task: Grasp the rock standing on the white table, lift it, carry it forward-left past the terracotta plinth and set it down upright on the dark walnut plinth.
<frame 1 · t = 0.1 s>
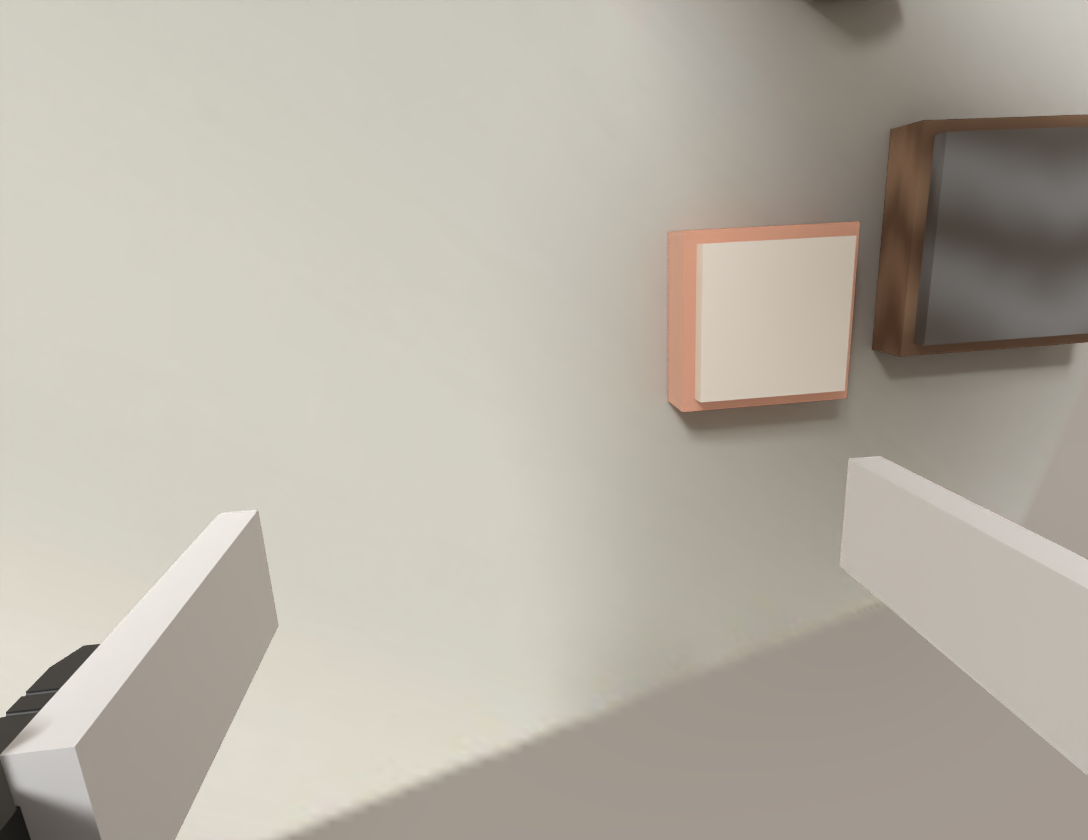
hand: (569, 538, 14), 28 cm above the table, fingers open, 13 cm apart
walnut plinth: (978, 238, 43), on the table
terracotta plinth: (748, 313, 42), on the table
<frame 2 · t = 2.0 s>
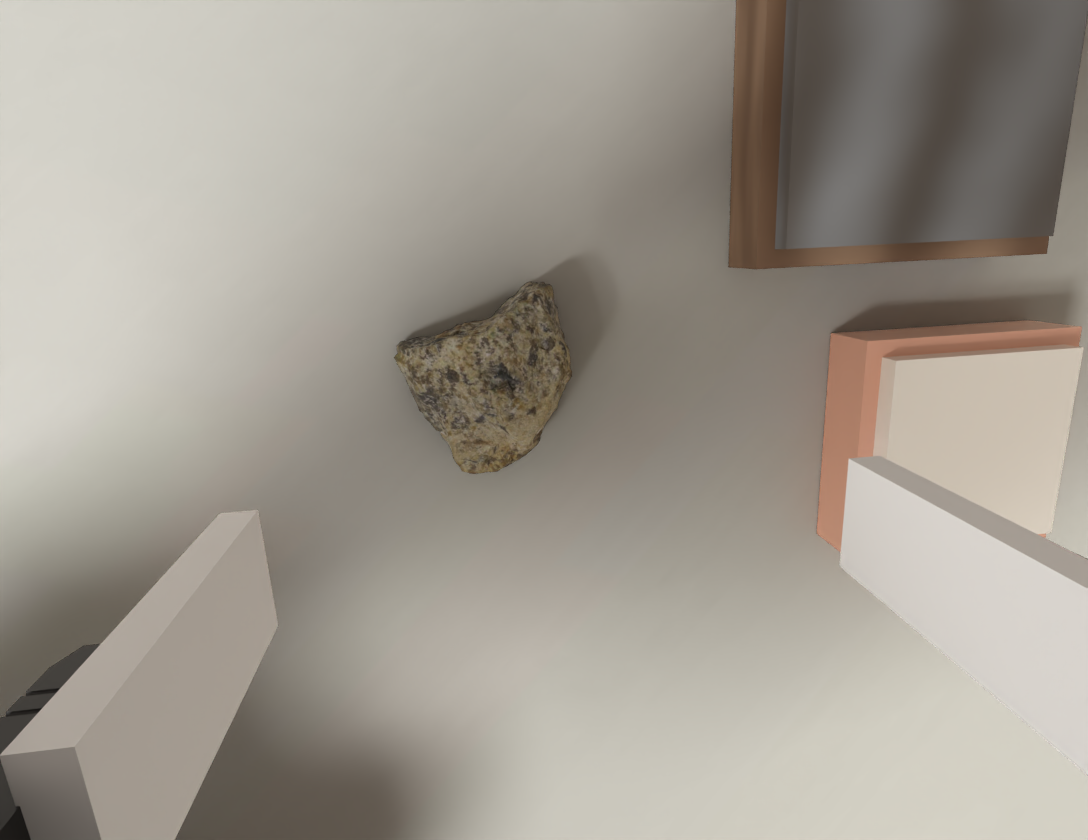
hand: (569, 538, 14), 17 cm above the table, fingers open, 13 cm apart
rock: (480, 368, 31), on the table
walnut plinth: (877, 104, 30), on the table
terracotta plinth: (920, 429, 34), on the table
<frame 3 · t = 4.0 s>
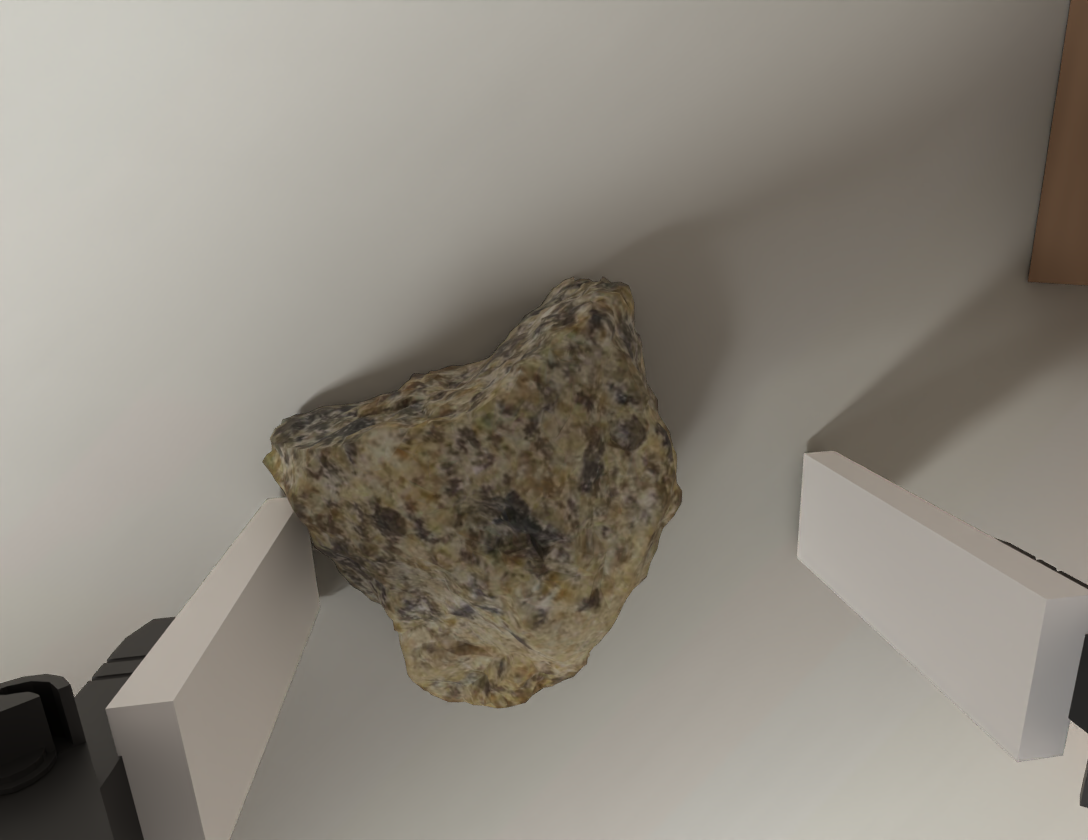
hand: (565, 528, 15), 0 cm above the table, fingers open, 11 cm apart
rock: (468, 461, 15), on the table, touching gripper
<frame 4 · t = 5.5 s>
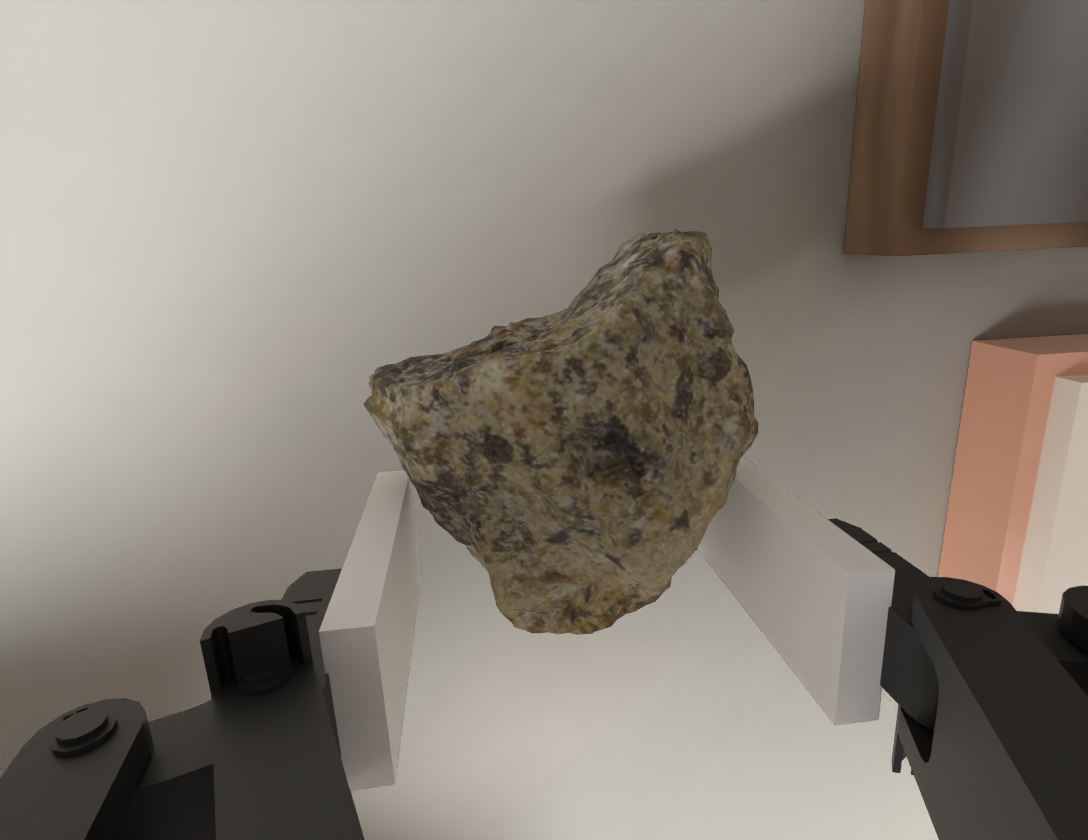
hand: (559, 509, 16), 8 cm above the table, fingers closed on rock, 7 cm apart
rock: (540, 411, 16), point 8 cm above the table, touching gripper
walnut plinth: (1058, 30, 22), on the table
terracotta plinth: (1077, 464, 27), on the table
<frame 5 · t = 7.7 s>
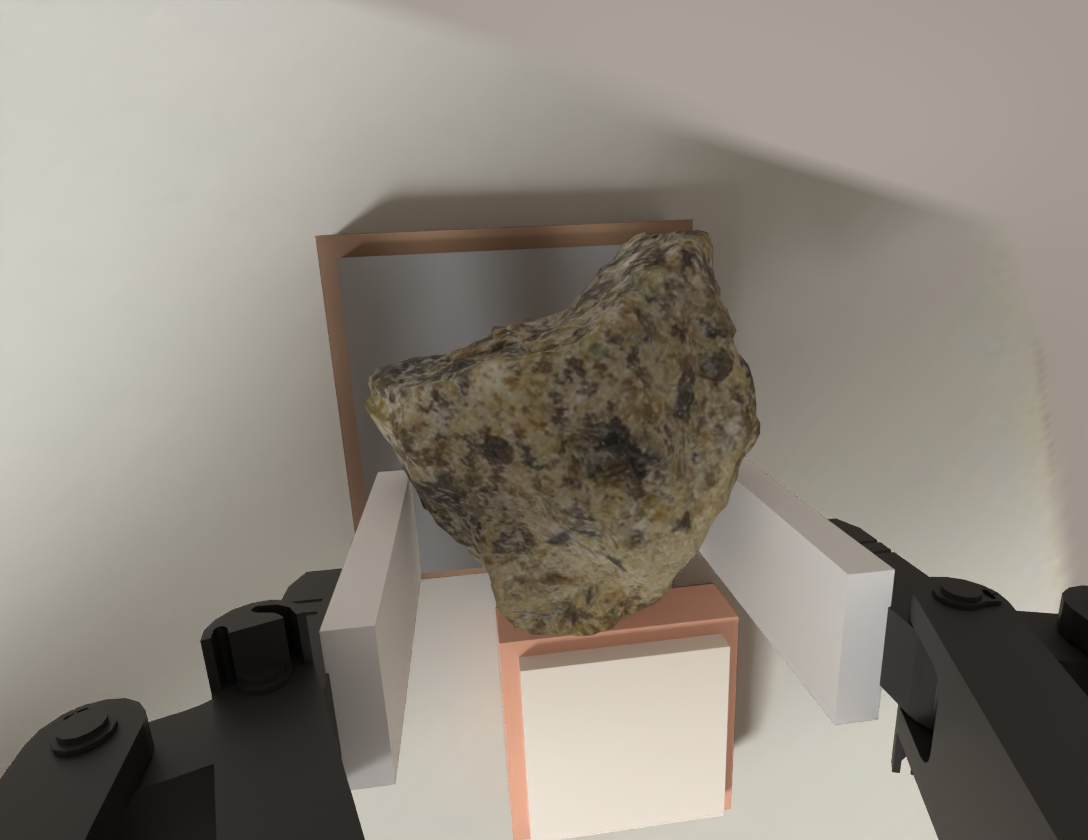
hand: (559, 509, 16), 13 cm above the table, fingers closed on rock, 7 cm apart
rock: (541, 411, 16), point 13 cm above the table, touching gripper
walnut plinth: (514, 393, 28), on the table
terracotta plinth: (608, 689, 33), on the table
when the fingers open (4 cm above the table, at t = 9.9 s): rock stays where it is, resting on walnut plinth.
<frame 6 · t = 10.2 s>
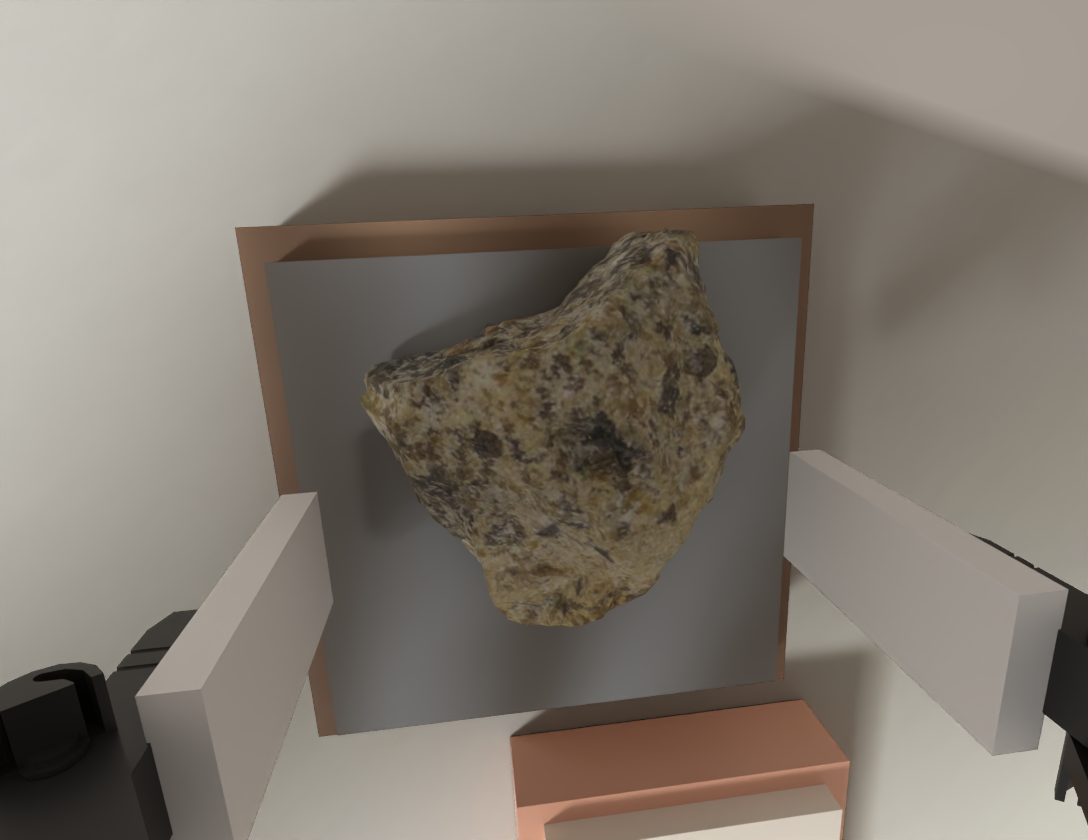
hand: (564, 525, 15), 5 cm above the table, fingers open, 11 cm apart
rock: (534, 407, 16), point 4 cm above the table, touching walnut plinth
walnut plinth: (537, 453, 20), on the table
terracotta plinth: (659, 837, 25), on the table
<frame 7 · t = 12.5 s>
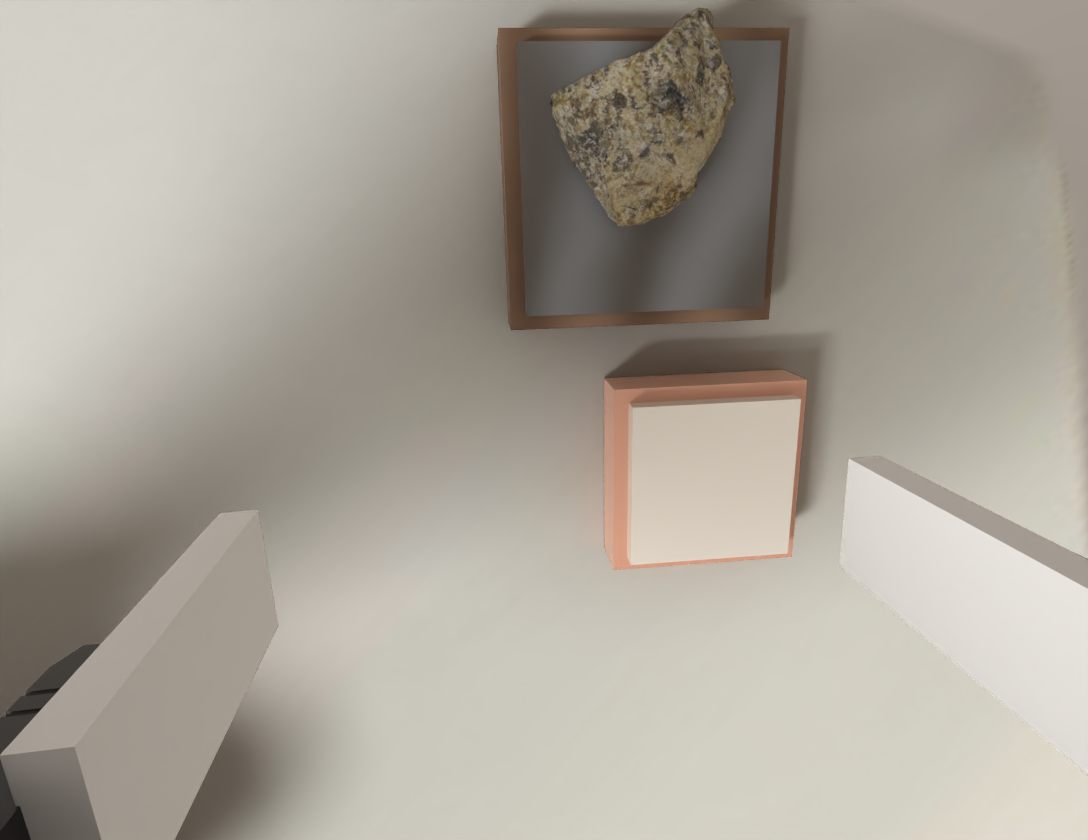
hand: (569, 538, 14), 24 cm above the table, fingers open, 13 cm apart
rock: (628, 126, 31), point 4 cm above the table, touching walnut plinth
walnut plinth: (630, 189, 35), on the table
terracotta plinth: (691, 460, 40), on the table
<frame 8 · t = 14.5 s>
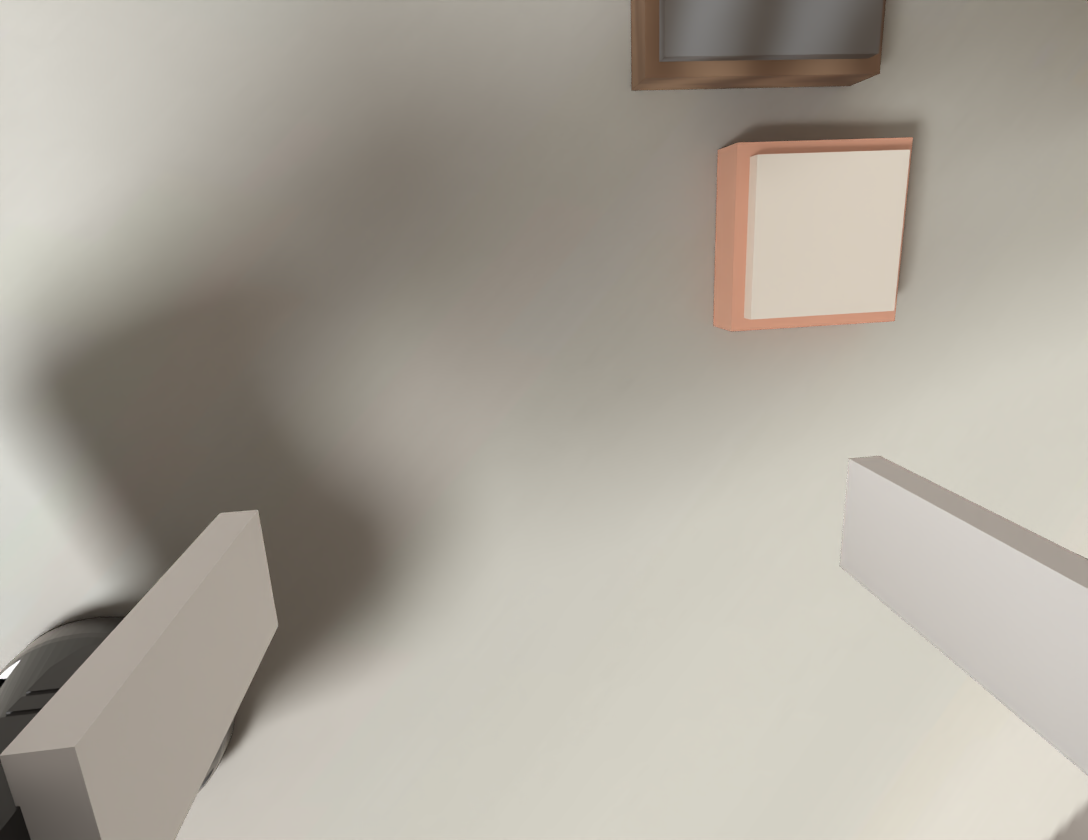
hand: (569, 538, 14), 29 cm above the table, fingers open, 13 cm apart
terracotta plinth: (795, 237, 42), on the table
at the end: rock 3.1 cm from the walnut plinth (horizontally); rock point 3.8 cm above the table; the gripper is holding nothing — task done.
